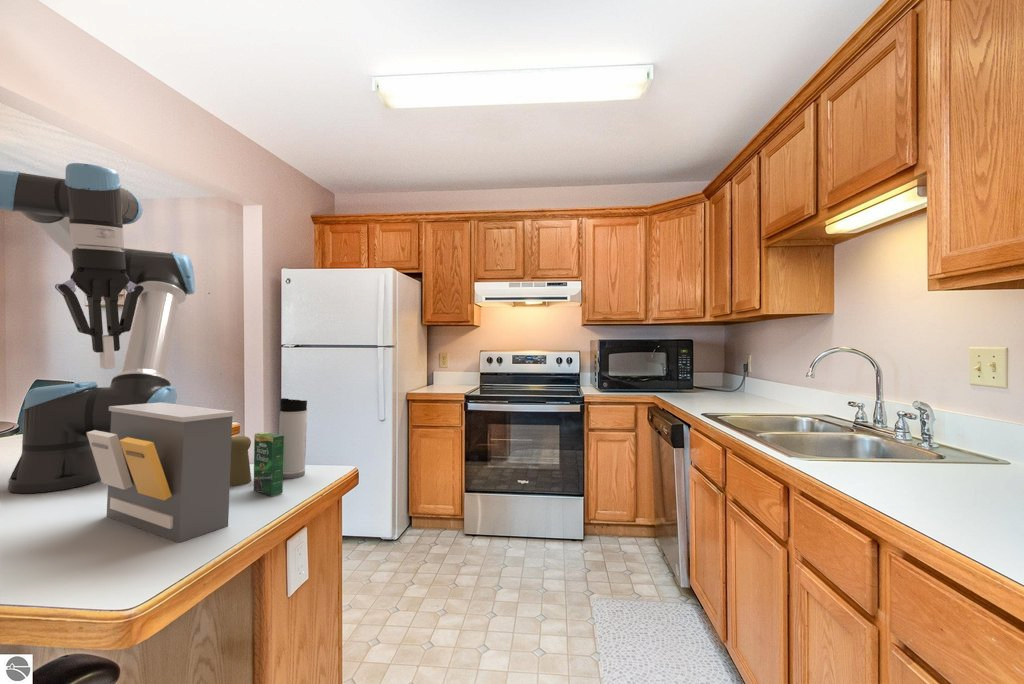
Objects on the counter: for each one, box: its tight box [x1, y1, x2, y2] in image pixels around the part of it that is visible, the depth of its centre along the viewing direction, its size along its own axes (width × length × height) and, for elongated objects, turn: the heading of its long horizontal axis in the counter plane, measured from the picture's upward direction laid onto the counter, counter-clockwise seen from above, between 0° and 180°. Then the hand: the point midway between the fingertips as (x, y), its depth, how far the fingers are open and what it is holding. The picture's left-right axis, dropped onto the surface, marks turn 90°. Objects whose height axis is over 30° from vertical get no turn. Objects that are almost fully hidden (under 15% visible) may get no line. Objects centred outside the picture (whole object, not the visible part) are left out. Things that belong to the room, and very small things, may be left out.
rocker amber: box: [119, 437, 172, 500], centre depth 73 cm, size 1×8×10 cm, turn 64°
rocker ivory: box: [87, 430, 132, 490], centre depth 78 cm, size 2×8×10 cm, turn 64°
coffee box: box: [253, 431, 284, 497], centre depth 99 cm, size 8×3×13 cm, turn 57°
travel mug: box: [278, 397, 308, 480], centre depth 112 cm, size 6×7×20 cm
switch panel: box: [106, 402, 236, 543], centre depth 81 cm, size 9×25×21 cm, turn 64°
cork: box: [230, 435, 252, 487], centre depth 105 cm, size 6×6×11 cm
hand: (107, 367), depth 88 cm, fingers closed
